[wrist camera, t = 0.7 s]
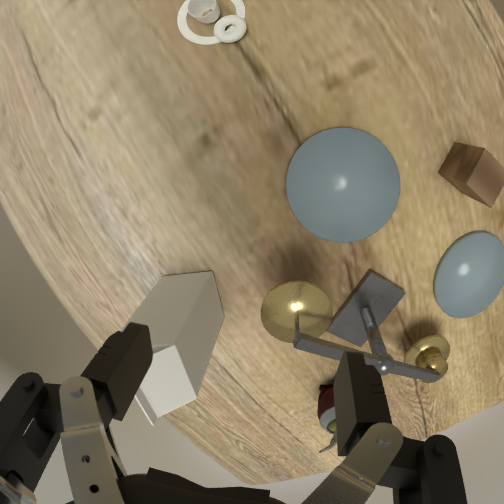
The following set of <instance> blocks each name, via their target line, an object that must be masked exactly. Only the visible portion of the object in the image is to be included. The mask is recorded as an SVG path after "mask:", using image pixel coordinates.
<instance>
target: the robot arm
mask: <svg viewBox="0 0 504 504" xmlns="http://www.w3.org/2000/svg"><path fill="white" fill-rule="evenodd" d="M152 359H153V350H152V344H151V338H150V331H149V327H148V326H147V325H144V324H139V323H134V322H130V323H129V324H128V325H127V326H126V328H125V329H124V330H123V332H120V331H117V332H116V333H114V334H113V335H111V336H110V337H108V339H107V340H106V341H105V343H104V344H103V347H101V348H100V349H99V351H98V353H97V354H96V355H95V356H94V358H93V359H92V360H91V362H90V363H89V365H88V366H87V367H86V369H85V370H84V372H83V373H82V374H81V376H75V377H71V378H68V379H66V380H65V381H64V382H63V383H62V384H49V383H44V382H43V380H42V378H41V376H40V375H39V374H37V373H33V372H29V373H25V374H22V375H21V376H19V377H18V378H17V380H16V381H15V382H14V383H13V385H12V386H11V387H10V389H9V391H8V392H7V393H6V394H5V396H4V397H3V399H2V400H1V401H0V504H36V498H35V495H34V494H33V493H34V490H35V488H36V486H37V484H38V482H39V480H40V478H41V476H42V473H43V471H44V469H45V467H46V465H47V463H48V461H49V459H50V457H51V455H52V453H53V451H54V449H55V447H56V445H57V443H58V442H59V440H60V438H61V443H62V449H63V455H64V460H65V465H66V470H67V474H68V478H69V483H70V487H71V491H72V495H73V498H74V500H73V501H71V502H68V503H66V504H285V503H283V502H281V501H280V500H277V499H275V498H272V497H269V495H270V490H263V489H254V488H246V487H226V488H205V487H203V486H200V485H198V484H196V483H194V482H191V481H189V480H187V479H185V478H183V477H181V476H179V475H176V474H172V473H168V472H164V471H161V470H157V469H154V468H149V470H148V473H147V474H133V475H127V473H126V471H125V469H124V466H123V464H122V462H121V459H120V456H119V453H118V450H117V447H116V444H115V441H114V437H113V434H112V431H111V427H110V425H109V424H110V422H111V420H112V418H113V419H116V420H119V421H122V420H123V418H124V416H125V414H126V412H127V410H128V408H129V406H130V404H131V402H132V400H133V398H134V396H135V394H136V392H137V391H138V389H139V387H140V385H141V383H142V381H143V379H144V377H145V375H146V374H147V372H148V370H149V368H150V366H151V363H152ZM333 392H334V404H335V416H336V430H337V446H338V456H347V457H346V458H345V459H344V460H343V462H342V463H341V464H340V465H339V466H337V467H336V468H335V469H334V470H333V471H332V472H331V473H330V474H329V476H328V477H327V478H326V479H325V480H324V481H323V482H322V483H321V484H320V485H319V486H318V487H317V488H316V489H315V490H314V491H313V493H312V494H311V495H310V496H309V497H308V498H307V499H306V500H305V501H304V502H303V503H302V504H364V503H365V502H366V501H367V499H368V498H369V497H370V495H371V494H372V492H373V491H374V489H375V486H376V485H380V486H385V487H390V488H393V501H394V504H467V499H466V494H465V488H464V483H463V478H462V473H461V468H460V464H459V459H458V455H457V451H456V447H455V445H454V443H453V442H452V440H450V439H449V438H448V437H446V436H444V435H433V436H430V437H429V438H428V439H427V440H426V441H425V442H424V441H419V440H414V439H410V438H406V437H404V436H403V435H402V433H401V431H400V430H399V429H398V428H397V427H396V426H394V425H393V424H392V421H391V416H390V412H389V408H388V403H387V399H386V395H385V391H384V387H383V383H382V379H381V375H380V373H379V372H378V371H377V369H376V368H375V367H374V365H366V363H365V359H364V355H363V353H362V352H349V351H344V352H343V355H342V358H341V361H340V364H339V367H338V370H337V373H336V376H335V380H334V387H333ZM32 419H33V421H32V422H31V420H32ZM30 422H31V424H30ZM29 424H30V426H29V427H28V425H29ZM27 427H28V429H27ZM26 429H27V431H26V432H25V430H26ZM24 432H25V434H24ZM23 435H24V436H23Z"/></svg>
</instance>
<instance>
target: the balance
mask: <svg viewBox="0 0 504 504" xmlns="http://www.w3.org/2000/svg"><path fill="white" fill-rule="evenodd" d="M404 295H405V291H404V289H402V288H401V287H399V286H397V285H396V284H394V283H392V282H391V281H389V280H387V279H386V278H384V277H382V276H381V275H379V274H377V273H376V272H374V271H372V270H371V269H369V270H368V272H367V273H366V274H365V276H364V277H363V279H362V280H361V281H360V283H359V284H358V285H357V287H356V288H355V289H354V291H353V292H352V293H351V295H350V296H349V297H348V299H347V300H346V301H345V303H344V304H343V305H342V307H341V308H340V309H339V310H338V312H337V313H336V314H335V316H334V317H333V308H332V303H331V300H330V298H329V296H328V294H327V293H326V292H325V291H324V290H323V289H322V288H321V287H319V286H318V285H316V284H314V283H311V282H308V281H303V280H292V281H287V282H284V283H281V284H279V285H277V286H275V287H274V288H273V289H271V290H270V291H269V292H268V294H267V295H266V296H265V298H264V300H263V303H262V307H261V320H262V323H263V325H264V327H265V329H266V330H267V331H268V332H269V333H270V334H271V335H272V336H274V337H275V338H277V339H279V340H281V341H284V342H288V343H293V345H294V348H296V349H300V350H303V351H306V352H310V353H314V354H317V355H321V356H324V357H328V358H332V359H336V360H339V361H341V358H342V355H343V352H344V351H349V352H362V353H363V355H364V359H365V363H366V365H374V367H375V368H376V369H377V371H378V372H379V373H380V375H387V374H389V373H393V374H397V375H402V376H406V377H411V378H416V379H421V380H422V381H423V382H425V383H432V382H436V381H437V380H439V379H441V378H442V377H443V376H444V375H445V373H446V372H447V370H448V364H447V362H446V360H447V358H448V356H449V353H450V345H449V343H448V341H447V339H446V338H444V337H443V336H440V335H430V336H426V337H424V338H422V339H420V340H418V341H417V342H416V343H414V344H413V345H412V346H411V347H410V348H409V350H408V351H407V353H406V355H405V357H404V363H403V362H399V361H395V360H393V358H392V357H391V356H390V355H389V354H387V351H386V348H385V345H384V343H383V340H382V337H381V334H380V331H379V329H378V327H379V326H380V324H381V323H382V322H383V321H384V320H385V318H386V317H387V316H388V315H389V313H390V312H391V311H392V310H393V309H394V307H395V306H396V305H397V304H398V302H399V301H400V300H401V298H402V297H403V296H404ZM332 317H333V318H332ZM325 331H327V332H329V333H331V334H334V335H336V336H338V337H340V338H342V339H344V340H346V341H348V342H351V343H353V344H355V345H357V346H359V347H361V346H362V345H363V344H364V343H365V342H366V341H367V340H368V341H369V345H370V348H371V351H372V354H370V353H366V352H363V351H359V350H356V349H352V348H349V347H346V346H342V345H339V344H336V343H332V342H329V341H326V340H323V339H319V338H317V337H319V336H321V335H322V334H323V333H324V332H325Z"/></svg>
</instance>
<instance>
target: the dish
mask: <svg viewBox="0 0 504 504" xmlns="http://www.w3.org/2000/svg"><path fill="white" fill-rule="evenodd" d="M503 284H504V245H503V243H502V242H501V241H500V240H499V239H498V238H497V237H495V236H494V235H492V234H490V233H488V232H485V231H474V232H470V233H468V234H465V235H464V236H462V237H460V238H459V239H457V240H456V241H455V242H454V243H453V244H452V245H451V246H450V247H449V248H448V249H447V250H446V252H445V253H444V254H443V256H442V258H441V259H440V261H439V264H438V266H437V268H436V271H435V275H434V281H433V291H434V296H435V299H436V302H437V303H438V305H439V307H440V308H441V309H442V310H443V312H444V313H446V314H447V315H449V316H451V317H454V318H467V317H471V316H474V315H476V314H478V313H480V312H481V311H483V310H484V309H485V308H487V307H488V306H489V305H490V304H491V303H492V302H493V301H494V299H495V298H496V297H497V295H498V294H499V292H500V291H501V289H502V287H503Z"/></svg>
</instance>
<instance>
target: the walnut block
mask: <svg viewBox="0 0 504 504" xmlns="http://www.w3.org/2000/svg"><path fill="white" fill-rule="evenodd" d="M438 173H439V174H440V175H441V176H443V177H444V178H445V179H446V180H447V181H449V182H450V183H451V184H452V185H453V186H454V187H456V188H457V189H458V190H459V191H460V192H461V193H463V194H465V195H467V196H469V197H471V198H473V199H475V200H477V201H479V202H481V203H483V204H485V205H486V206H488V207H490V208H492V206H493V204H494V202H495V200H496V199H497V197H498V195H499V193H500V191H501V189H502V187H503V186H504V168H503V167H502V166H501V164H500V163H499V162H498V161H497V160H496V159H495V158H494V157H493V156H492V155H491V154H490V153H489V152H488V151H487V150H486V149H485V148H481V147H476V146H471V145H465V144H460V143H454V144H453V146H452V148H451V150H450V152H449V154H448V155H447V157H446V159H445V161H444V163H443V164H442V166H441V168H440V170H439V171H438Z"/></svg>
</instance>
